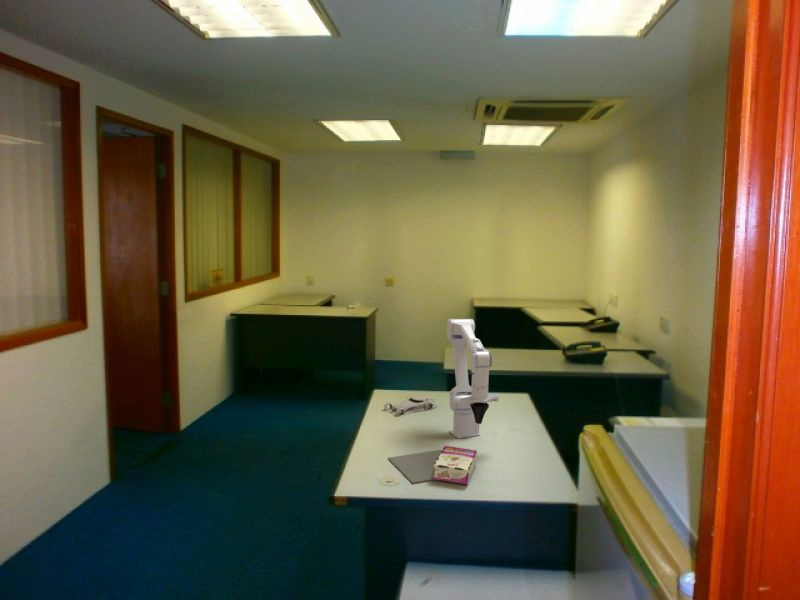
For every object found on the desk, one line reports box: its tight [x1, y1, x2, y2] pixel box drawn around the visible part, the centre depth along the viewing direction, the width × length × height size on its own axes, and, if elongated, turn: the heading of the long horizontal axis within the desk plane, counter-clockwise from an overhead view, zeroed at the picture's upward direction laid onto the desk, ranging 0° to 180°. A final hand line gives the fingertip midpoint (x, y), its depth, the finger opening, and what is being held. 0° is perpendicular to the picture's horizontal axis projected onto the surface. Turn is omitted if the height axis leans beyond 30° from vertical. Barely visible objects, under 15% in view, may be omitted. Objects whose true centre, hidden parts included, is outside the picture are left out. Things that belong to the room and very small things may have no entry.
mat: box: [387, 449, 443, 485], centre depth 186 cm, size 20×20×1 cm
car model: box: [383, 395, 437, 417], centre depth 244 cm, size 11×24×5 cm, turn 126°
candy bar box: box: [433, 445, 478, 485], centre depth 181 cm, size 11×5×16 cm
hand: (478, 422), depth 198 cm, fingers closed
